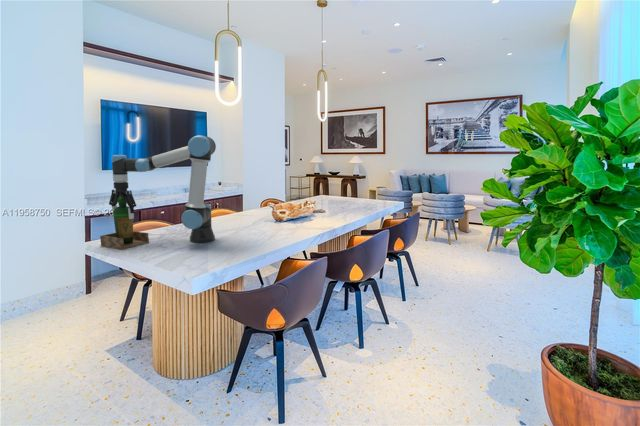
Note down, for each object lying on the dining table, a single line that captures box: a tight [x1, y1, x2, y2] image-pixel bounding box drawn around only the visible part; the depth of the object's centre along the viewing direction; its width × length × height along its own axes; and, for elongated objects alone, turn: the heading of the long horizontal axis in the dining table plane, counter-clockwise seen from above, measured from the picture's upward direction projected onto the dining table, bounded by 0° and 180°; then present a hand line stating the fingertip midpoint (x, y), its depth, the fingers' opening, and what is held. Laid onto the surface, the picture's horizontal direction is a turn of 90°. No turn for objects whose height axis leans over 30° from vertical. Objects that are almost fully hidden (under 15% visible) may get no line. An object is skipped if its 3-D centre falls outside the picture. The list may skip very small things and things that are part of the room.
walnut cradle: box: [99, 230, 150, 251], centre depth 217 cm, size 18×18×6 cm
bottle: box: [112, 196, 134, 244], centre depth 216 cm, size 11×11×28 cm
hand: (123, 217), depth 215 cm, fingers open, 13 cm apart
